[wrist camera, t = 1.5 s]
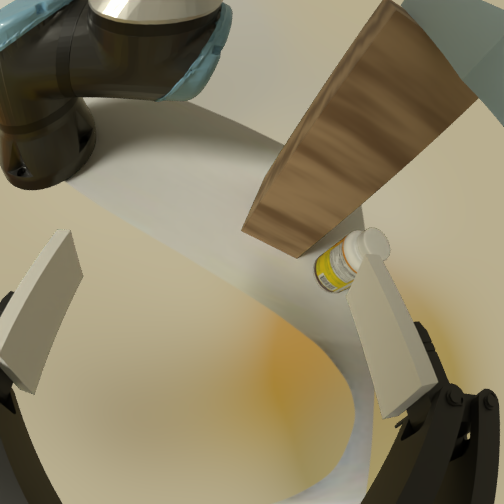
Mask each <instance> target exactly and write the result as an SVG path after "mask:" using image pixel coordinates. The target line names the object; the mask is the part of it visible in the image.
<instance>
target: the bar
mask: <svg viewBox="0 0 504 504" xmlns="http://www.w3.org/2000/svg"><path fill="white" fill-rule="evenodd" d="M401 6H402V7H403V8H404V9H405V10H406V11H407V13H408V14H409V15H410V16H411V17H412V18H413V19H414V20H415V21H416V22H417V23H418V24H419V26H420V27H421V28H422V29H423V30H424V31H425V32H426V34H427V35H428V36H429V37H430V38H431V40H432V41H433V42H434V43H435V44H436V46H437V47H438V48H439V50H440V51H441V52H442V53H443V55H444V56H445V57H446V59H447V60H448V61H449V63H450V64H451V66H452V67H453V68H454V70H455V71H456V73H457V74H458V76H459V77H460V78H461V80H462V81H463V82H464V83H465V84H466V85H467V86H468V87H469V88H470V89H471V90H472V91H473V92H474V93H475V94H476V95H477V96H478V98H479V99H480V100H481V101H482V102H483V103H484V104H485V105H486V106H487V107H488V108H489V110H490V111H491V112H492V113H493V114H494V116H495V117H496V118H497V119H498V120H499V122H500V123H501V124H502V125H503V127H504V10H502V9H500V8H498V7H496V6H494V5H492V4H489V3H487V2H484V1H482V0H404V1H403V3H402V4H401Z"/></svg>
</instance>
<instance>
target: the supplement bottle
mask: <svg viewBox="0 0 504 504" xmlns="http://www.w3.org/2000/svg"><path fill="white" fill-rule="evenodd" d="M365 254H374V255H380V257H381V259H382V261H384V260H386V259H387V258H388V257H389V255H390V245H389V242H388V240H387V238H386V236H385V235H384V234H383V233H382V232H381V231H380V230H379V229H377V228H368V229H366V230H365V231H361V230H356V231H353V232H351V233H349V234H348V235H347V236H346V237H344V238H343V239H342V240H340V241H339V242H338V243H336V244H335V245H334V246H333V247H331V248H330V249H329V250H327V251H326V252H325V253H323V254H322V255H321V256H319V257H318V258H317V260H316V261H315V263H314V267H313V274H314V278H315V280H316V282H317V284H318V285H319V286H320V287H321V288H322V289H323V290H325V291H326V292H329V293H339V292H341V291H343V290H345V289H347V288H349V287H351V285H352V283H353V280H354V278H355V276H356V274H357V272H358V269H359V267H360V265H361V263H362V260H363V258H364V256H365Z"/></svg>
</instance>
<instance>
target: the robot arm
mask: <svg viewBox="0 0 504 504" xmlns="http://www.w3.org/2000/svg"><path fill="white" fill-rule="evenodd" d="M222 1H223V0H15V1H13V2H12V3H10V4H8V5H7V6H5V7H3V8H2V9H0V166H1V168H2V170H3V172H4V174H5V176H6V178H7V180H8V181H9V182H10V183H11V184H12V185H14V186H15V187H18V188H20V189H24V190H40V189H44V188H48V187H51V186H54V185H56V184H59V183H60V182H63V181H64V180H66V179H68V178H69V177H71V176H72V175H73V174H75V173H76V172H77V171H78V170H79V169H80V168H81V167H82V166H83V165H84V164H85V163H86V161H87V160H88V159H89V157H90V155H91V153H92V151H93V149H94V146H95V142H96V131H95V122H94V119H93V116H92V114H91V112H90V111H89V109H88V107H87V105H86V103H85V101H84V99H83V98H82V97H101V98H124V99H139V100H151V101H155V102H161V101H164V100H167V101H187V100H190V99H192V98H194V97H196V96H197V95H198V94H199V93H200V92H201V91H202V90H203V89H204V87H205V86H206V84H207V83H208V81H209V79H210V77H211V75H212V74H213V72H214V70H215V68H216V66H217V64H218V61H219V59H220V53H221V50H222V49H223V47H224V45H225V43H226V41H227V38H228V35H229V31H230V27H231V23H232V9H231V8H230V6H228V5H227V4H225V3H223V2H222ZM82 278H83V273H82V270H81V267H80V264H79V260H78V256H77V253H76V249H75V245H74V242H73V238H72V234H71V230H63V229H57V230H56V231H55V233H54V234H53V235H52V237H51V238H50V240H49V241H48V242H47V244H46V245H45V246H44V248H43V249H42V251H41V252H40V254H39V255H38V256H37V258H36V259H35V261H34V263H33V264H32V265H31V267H30V268H29V270H28V271H27V273H26V275H25V276H24V278H23V279H22V281H21V283H20V284H19V286H18V287H17V289H16V291H15V292H12V291H10V292H9V293H8V294H7V295H6V296H5V297H4V298H3V299H2V301H1V302H0V504H62V502H61V501H60V499H59V497H58V495H57V493H56V492H55V490H54V488H53V486H52V485H51V483H50V480H49V479H48V477H47V475H46V473H45V471H44V469H43V466H42V464H41V462H40V460H39V458H38V456H37V453H36V451H35V449H34V446H33V444H32V442H31V439H30V437H29V434H28V431H27V429H26V427H25V423H24V421H23V418H22V415H21V412H20V409H19V406H18V403H17V400H16V396H15V393H14V391H13V389H12V388H11V387H12V384H13V383H14V384H15V385H16V386H17V387H18V388H19V389H20V390H23V391H26V392H28V393H31V394H34V395H35V392H36V388H37V385H38V382H39V380H40V376H41V374H42V371H43V368H44V365H45V363H46V360H47V357H48V355H49V352H50V349H51V347H52V344H53V342H54V339H55V337H56V334H57V332H58V330H59V327H60V325H61V323H62V320H63V318H64V316H65V314H66V311H67V309H68V307H69V305H70V303H71V301H72V298H73V296H74V294H75V292H76V290H77V288H78V286H79V284H80V282H81V280H82ZM346 299H347V301H348V304H349V307H350V310H351V313H352V316H353V319H354V322H355V325H356V328H357V332H358V335H359V338H360V341H361V344H362V348H363V351H364V354H365V357H366V361H367V364H368V367H369V371H370V374H371V378H372V381H373V385H374V389H375V392H376V396H377V399H378V403H379V407H380V411H381V415H382V419H386V418H391V417H395V416H399V415H400V414H401V413H403V412H404V411H405V410H407V413H408V416H406V417H405V418H404V419H402V420H401V421H400V422H398V423H397V424H396V425H395V428H397V427H399V426H400V425H402V426H401V428H400V431H399V433H398V435H397V437H396V439H395V442H394V444H393V446H392V448H391V450H390V452H389V454H388V456H387V458H386V460H385V462H384V464H383V466H382V467H381V470H380V471H379V473H378V475H377V477H376V478H375V480H374V482H373V484H372V485H371V487H370V489H369V491H368V492H367V494H366V496H365V497H364V499H363V500H362V502H361V504H494V500H495V493H496V485H497V477H498V466H499V446H500V419H499V418H500V416H499V403H498V399H497V396H496V394H495V393H494V392H493V391H491V390H490V389H484V390H482V391H481V392H480V393H478V394H477V395H471V394H464V393H463V392H462V390H461V389H460V388H459V387H458V386H457V385H455V384H452V383H451V384H450V383H449V381H448V379H447V377H446V374H445V371H444V369H443V366H442V364H441V362H440V359H439V357H438V355H437V352H435V348H434V345H433V344H432V343H431V342H432V341H431V339H430V337H429V334H428V332H427V330H426V329H425V328H424V327H423V326H422V325H421V323H420V322H413V320H412V318H411V316H410V314H409V312H408V310H407V308H406V306H405V304H404V302H403V299H402V297H401V295H400V293H399V291H398V289H397V287H396V285H395V283H394V282H393V280H392V278H391V276H390V274H389V272H388V270H387V268H386V266H385V264H384V263H383V261H382V259H381V257H380V255H374V254H365V256H364V258H363V260H362V263H361V265H360V267H359V269H358V272H357V274H356V276H355V278H354V280H353V283H352V285H351V287H350V289H349V291H348V293H347V295H346ZM469 432H470V439H467V434H468V433H469Z"/></svg>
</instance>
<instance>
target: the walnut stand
mask: <svg viewBox="0 0 504 504" xmlns="http://www.w3.org/2000/svg"><path fill="white" fill-rule="evenodd" d="M477 99H478V96H477V95H476V94H475V93H474V92H473V91H472V90H471V89H470V88H469V87H468V86H467V85H466V84H465V83H464V82H463V81H462V80H461V78H460V77H459V76H458V74H457V73H456V71H455V70H454V68H453V67H452V66H451V64H450V63H449V61H448V60H447V59H446V57H445V56H444V55H443V53H442V52H441V51H440V50H439V48H438V47H437V46H436V44H435V43H434V42H433V41H432V40H431V38H430V37H429V36H428V35H427V34H426V32H425V31H424V30H423V29H422V28H421V27H420V26H419V24H418V23H417V22H416V21H415V20H414V19H413V18H412V17H411V16H410V15H409V14H408V13H407V11H406V10H405V9H403V8H402V7H401V6H399V5H398V4H396V3H395V2H393V1H392V0H382V2H381V3H380V5H379V6H378V7H377V9H376V10H375V12H374V13H373V14H372V16H371V17H370V19H369V20H368V22H367V23H366V24H365V26H364V27H363V29H362V30H361V31H360V33H359V35H358V36H357V38H356V39H355V40H354V42H353V43H352V44H351V46H350V47H349V49H348V50H347V52H346V53H345V55H344V56H343V58H342V59H341V61H340V62H339V64H338V65H337V66H336V68H335V69H334V71H333V73H332V74H331V75H330V77H329V78H328V80H327V81H326V83H325V84H324V86H323V87H322V89H321V90H320V92H319V93H318V95H317V96H316V98H315V99H314V101H313V102H312V104H311V106H310V107H309V109H308V110H307V112H306V113H305V115H304V116H303V118H302V119H301V121H300V122H299V124H298V126H297V127H296V129H295V130H294V132H293V133H292V135H291V136H290V138H289V139H288V141H287V143H286V144H285V146H284V147H283V149H282V150H281V152H280V154H279V155H278V157H277V158H276V160H275V161H274V163H273V165H272V166H271V168H270V169H269V171H268V173H267V174H266V176H265V178H264V180H263V182H262V184H261V187H260V189H259V191H258V193H257V196H256V198H255V200H254V202H253V205H252V207H251V209H250V211H249V214H248V216H247V218H246V221H245V223H244V225H243V227H242V230H241V231H242V232H245V233H247V234H249V235H251V236H253V237H255V238H257V239H259V240H261V241H263V242H265V243H267V244H269V245H271V246H273V247H275V248H277V249H279V250H281V251H283V252H285V253H287V254H289V255H291V256H293V257H295V258H298V257H299V256H300V255H302V254H303V253H304V252H305V251H307V250H308V249H309V248H310V247H311V246H313V245H314V244H315V243H316V242H317V241H319V240H320V239H321V238H322V237H324V236H325V235H326V234H327V233H328V232H329V231H331V230H332V229H333V228H334V227H335V226H337V225H338V224H339V223H340V222H341V221H343V220H344V219H345V218H346V217H347V216H348V215H350V214H351V213H352V212H353V211H354V210H356V209H357V208H358V207H359V206H360V205H361V204H363V203H364V202H365V201H366V200H367V199H368V198H369V197H371V196H372V195H373V194H374V193H375V192H376V191H378V190H379V189H380V188H381V187H382V186H383V185H384V184H386V183H387V182H388V181H389V180H390V179H391V178H392V177H393V176H395V175H396V174H397V173H398V172H399V171H400V170H401V169H403V168H404V167H405V166H406V165H407V164H408V163H409V162H410V161H412V160H413V159H414V158H415V157H416V156H417V155H418V154H419V153H420V152H422V151H423V150H424V149H425V148H426V147H427V146H428V145H429V144H430V143H431V142H433V140H435V139H436V138H437V137H438V136H439V135H440V134H441V133H442V132H443V131H444V130H446V128H448V127H449V126H450V125H451V124H452V123H453V122H454V121H455V120H456V119H457V118H458V117H459V116H460V115H462V114H463V112H465V111H466V110H467V109H468V108H469V107H470V106H471V105H472V104H473V103H474V102H475V101H476V100H477Z"/></svg>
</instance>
